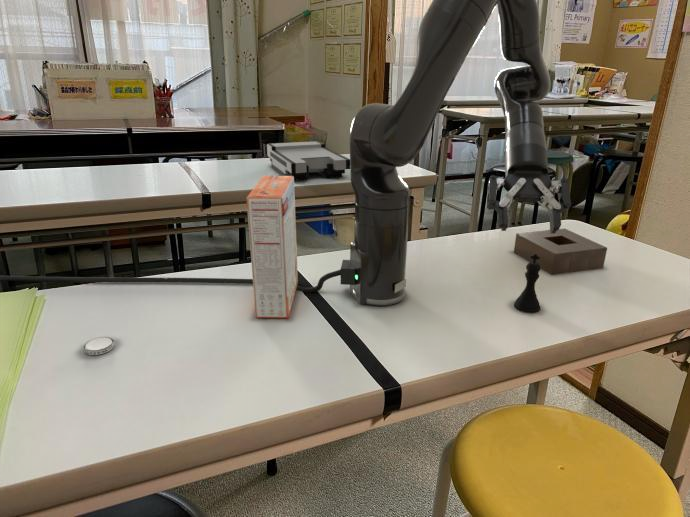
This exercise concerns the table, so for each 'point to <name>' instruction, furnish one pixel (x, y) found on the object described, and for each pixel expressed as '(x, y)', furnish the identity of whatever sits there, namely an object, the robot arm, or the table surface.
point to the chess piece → (529, 289)
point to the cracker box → (273, 245)
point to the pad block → (560, 251)
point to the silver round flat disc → (99, 345)
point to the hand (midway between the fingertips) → (529, 230)
